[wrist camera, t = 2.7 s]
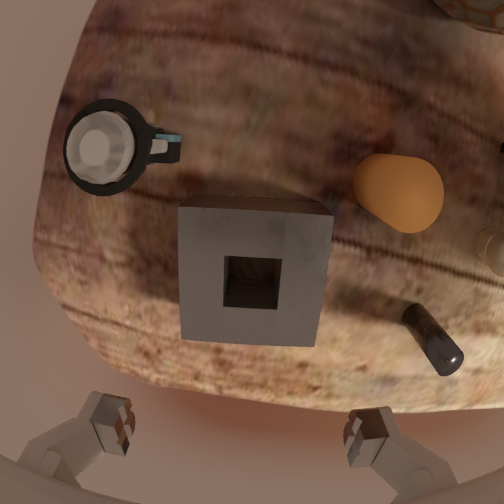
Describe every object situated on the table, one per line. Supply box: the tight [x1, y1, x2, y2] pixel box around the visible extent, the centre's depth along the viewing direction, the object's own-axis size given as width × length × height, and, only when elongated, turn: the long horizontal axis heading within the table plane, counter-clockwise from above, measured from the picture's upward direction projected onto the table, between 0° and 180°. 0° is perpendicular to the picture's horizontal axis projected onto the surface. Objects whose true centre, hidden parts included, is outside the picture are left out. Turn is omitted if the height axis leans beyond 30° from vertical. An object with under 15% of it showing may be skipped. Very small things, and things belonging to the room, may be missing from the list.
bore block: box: [178, 195, 334, 347], centre depth 24 cm, size 10×10×5 cm
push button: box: [63, 99, 182, 196], centre depth 19 cm, size 7×5×10 cm
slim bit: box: [402, 304, 464, 376], centre depth 25 cm, size 3×3×8 cm
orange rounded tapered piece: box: [352, 153, 444, 233], centre depth 22 cm, size 5×5×6 cm
